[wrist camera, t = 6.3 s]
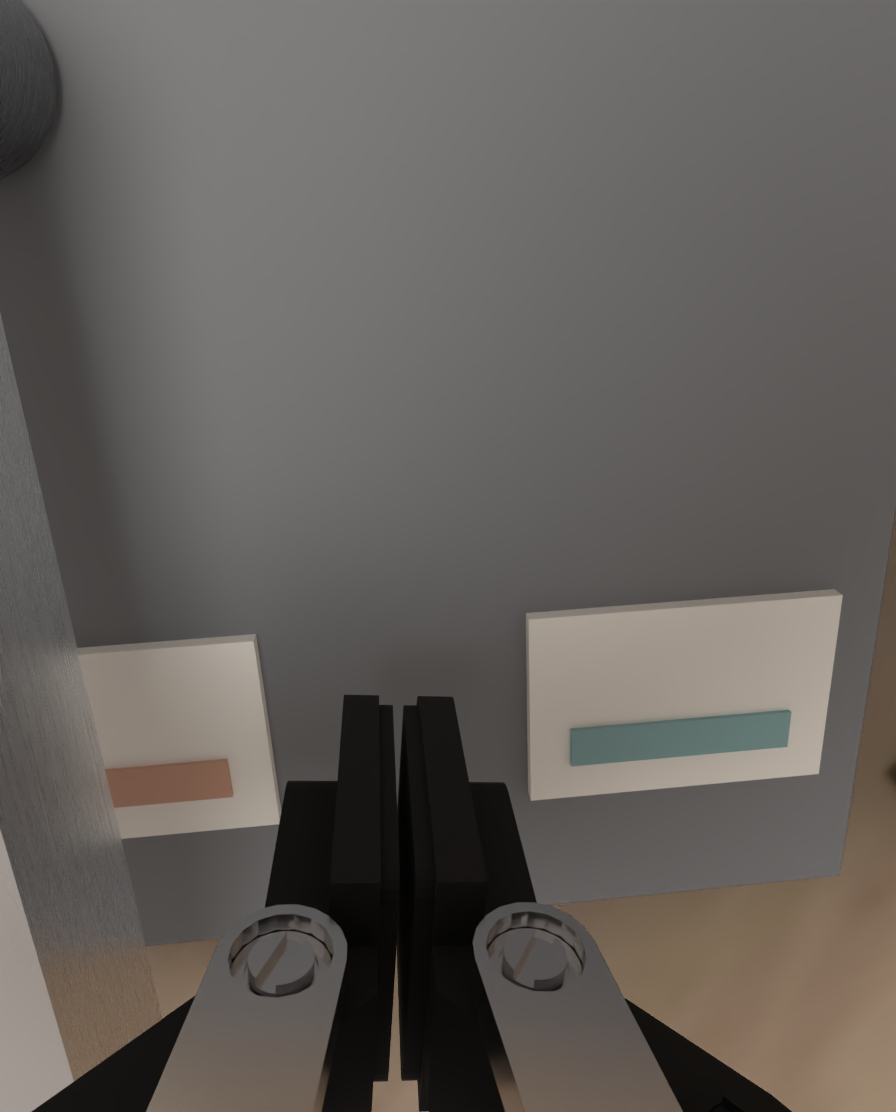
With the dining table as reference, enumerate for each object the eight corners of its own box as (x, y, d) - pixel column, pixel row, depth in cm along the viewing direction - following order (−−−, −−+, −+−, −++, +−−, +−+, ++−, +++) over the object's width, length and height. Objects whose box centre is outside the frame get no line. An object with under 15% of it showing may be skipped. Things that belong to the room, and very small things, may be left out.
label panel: (924, -73, 13) (1011, -128, 11) (805, 830, 19) (849, 888, 17) (-375, -43, 12) (-512, -100, 10) (-54, 915, 18) (-102, 986, 16)
